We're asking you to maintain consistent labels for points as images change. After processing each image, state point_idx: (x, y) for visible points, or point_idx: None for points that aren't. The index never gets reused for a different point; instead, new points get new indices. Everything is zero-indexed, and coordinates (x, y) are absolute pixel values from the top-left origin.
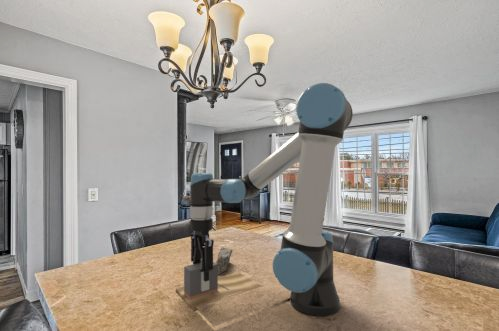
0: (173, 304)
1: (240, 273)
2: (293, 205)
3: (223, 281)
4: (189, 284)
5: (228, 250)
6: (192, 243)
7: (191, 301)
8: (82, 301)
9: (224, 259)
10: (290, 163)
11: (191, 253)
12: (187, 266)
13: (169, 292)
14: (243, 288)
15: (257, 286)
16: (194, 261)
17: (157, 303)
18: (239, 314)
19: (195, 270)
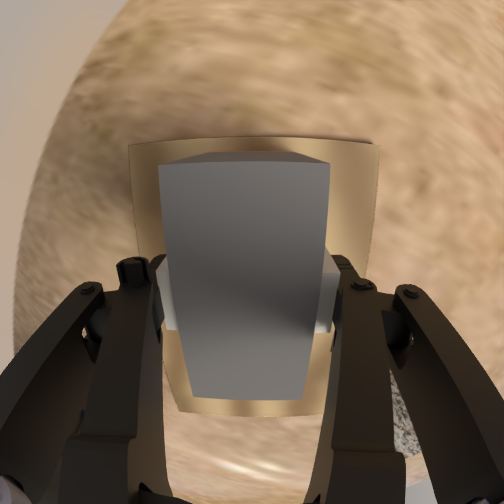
0: (243, 80)
1: (311, 414)
2: None
3: None
4: (201, 155)
5: (405, 453)
6: (483, 438)
7: (185, 151)
8: None
9: None
10: None
11: (443, 330)
12: (308, 193)
13: (379, 114)
14: (187, 373)
15: (180, 403)
16: (344, 297)
17: (299, 30)
18: (60, 273)
19: (166, 223)
